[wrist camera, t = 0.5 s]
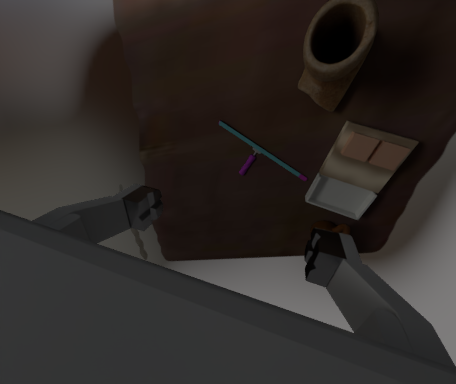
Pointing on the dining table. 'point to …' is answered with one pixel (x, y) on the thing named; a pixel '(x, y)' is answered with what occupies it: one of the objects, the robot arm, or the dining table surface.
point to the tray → (339, 196)
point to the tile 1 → (359, 146)
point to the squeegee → (259, 150)
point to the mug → (332, 227)
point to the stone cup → (337, 48)
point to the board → (359, 170)
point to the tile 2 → (388, 155)
